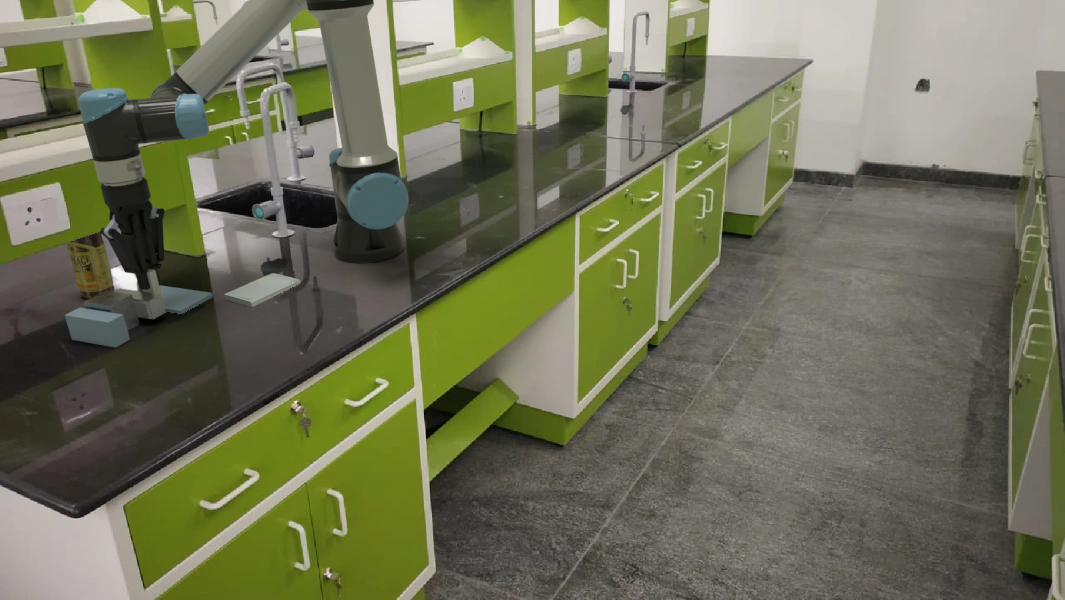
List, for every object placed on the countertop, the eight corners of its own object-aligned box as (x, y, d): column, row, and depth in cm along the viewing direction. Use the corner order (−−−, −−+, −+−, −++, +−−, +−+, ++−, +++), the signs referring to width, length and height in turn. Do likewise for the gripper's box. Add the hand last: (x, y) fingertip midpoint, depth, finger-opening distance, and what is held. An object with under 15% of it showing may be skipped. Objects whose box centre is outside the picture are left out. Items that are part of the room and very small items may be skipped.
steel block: (139, 324, 147) (132, 294, 144) (118, 336, 143) (109, 305, 140) (114, 320, 149) (106, 290, 146) (92, 332, 145) (83, 301, 142)
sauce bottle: (73, 297, 159) (45, 200, 151) (100, 285, 164) (74, 191, 156) (97, 302, 157) (69, 203, 148) (123, 290, 162) (98, 194, 153)
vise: (213, 296, 157) (208, 273, 155) (122, 348, 138) (115, 323, 136) (161, 289, 161) (155, 266, 160) (65, 338, 142) (58, 314, 140)
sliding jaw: (165, 312, 148) (161, 294, 147) (151, 320, 145) (147, 302, 144) (109, 303, 153) (104, 286, 151) (94, 310, 150) (89, 293, 148)
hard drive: (251, 302, 152) (300, 278, 161) (221, 294, 156) (271, 271, 165) (252, 310, 152) (301, 286, 162) (223, 301, 156) (272, 279, 166)
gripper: (110, 192, 135) (144, 319, 145) (167, 171, 146) (194, 290, 156) (76, 189, 137) (111, 314, 147) (134, 169, 148) (164, 286, 158)
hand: (154, 302), depth 152 cm, fingers closed
